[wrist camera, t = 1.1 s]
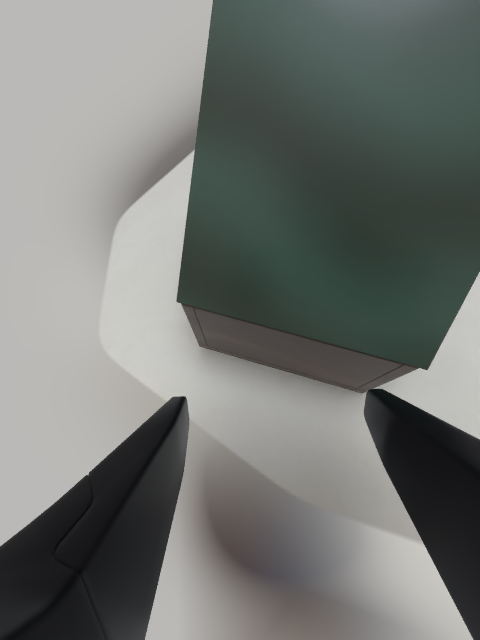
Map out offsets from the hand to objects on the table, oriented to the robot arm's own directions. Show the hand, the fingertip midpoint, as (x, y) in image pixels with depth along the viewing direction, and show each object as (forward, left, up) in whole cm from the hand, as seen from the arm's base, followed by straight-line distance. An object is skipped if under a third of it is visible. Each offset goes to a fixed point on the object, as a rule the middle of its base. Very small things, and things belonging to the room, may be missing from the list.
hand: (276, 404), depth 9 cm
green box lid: (+11, 0, 0) cm, 11 cm away
